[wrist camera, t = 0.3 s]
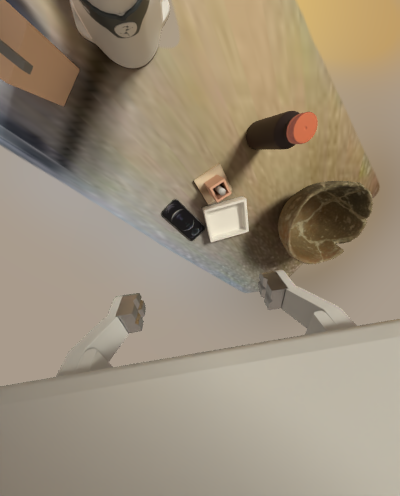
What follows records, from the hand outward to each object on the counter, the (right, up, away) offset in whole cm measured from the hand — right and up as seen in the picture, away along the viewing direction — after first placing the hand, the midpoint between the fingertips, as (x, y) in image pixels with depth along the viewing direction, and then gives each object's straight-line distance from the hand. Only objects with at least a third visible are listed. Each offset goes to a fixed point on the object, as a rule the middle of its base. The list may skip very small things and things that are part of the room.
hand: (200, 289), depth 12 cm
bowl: (+37, +16, +52) cm, 66 cm away
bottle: (+16, +35, +37) cm, 54 cm away
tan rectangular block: (-30, +40, +26) cm, 56 cm away
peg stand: (+4, +23, +42) cm, 48 cm away
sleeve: (+4, +22, +41) cm, 47 cm away
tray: (+9, +13, +48) cm, 51 cm away
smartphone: (-6, +12, +47) cm, 49 cm away
